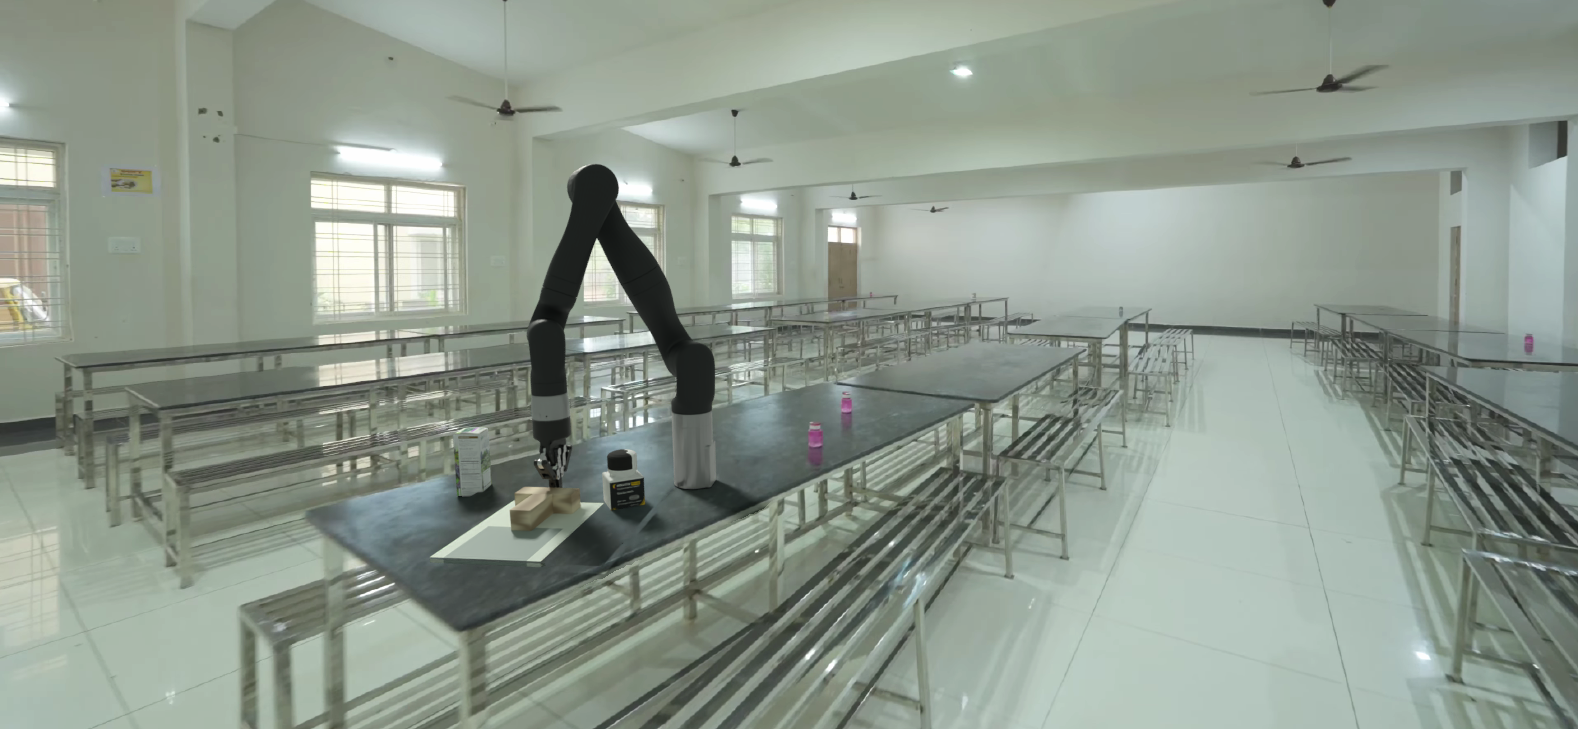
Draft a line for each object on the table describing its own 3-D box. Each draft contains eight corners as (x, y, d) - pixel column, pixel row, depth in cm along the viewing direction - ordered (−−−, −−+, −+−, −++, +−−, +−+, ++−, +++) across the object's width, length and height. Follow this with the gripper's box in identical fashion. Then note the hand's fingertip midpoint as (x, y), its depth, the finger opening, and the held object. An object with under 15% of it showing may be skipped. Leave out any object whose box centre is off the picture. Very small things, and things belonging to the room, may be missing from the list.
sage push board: (604, 507, 140) (604, 503, 139) (541, 567, 112) (540, 561, 112) (514, 504, 142) (513, 500, 142) (430, 562, 114) (429, 557, 114)
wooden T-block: (580, 506, 137) (579, 488, 137) (551, 531, 125) (550, 511, 124) (525, 505, 139) (524, 486, 138) (491, 529, 126) (489, 509, 125)
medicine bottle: (611, 515, 135) (608, 458, 134) (603, 504, 142) (600, 449, 140) (645, 509, 139) (643, 453, 137) (636, 498, 145) (634, 445, 143)
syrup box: (466, 488, 153) (461, 427, 151) (493, 487, 153) (488, 426, 151) (456, 497, 147) (451, 433, 145) (484, 496, 148) (479, 432, 145)
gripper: (553, 422, 130) (559, 507, 133) (581, 408, 143) (586, 485, 146) (517, 422, 131) (523, 506, 134) (548, 408, 144) (554, 484, 147)
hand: (556, 495), depth 140 cm, fingers closed
